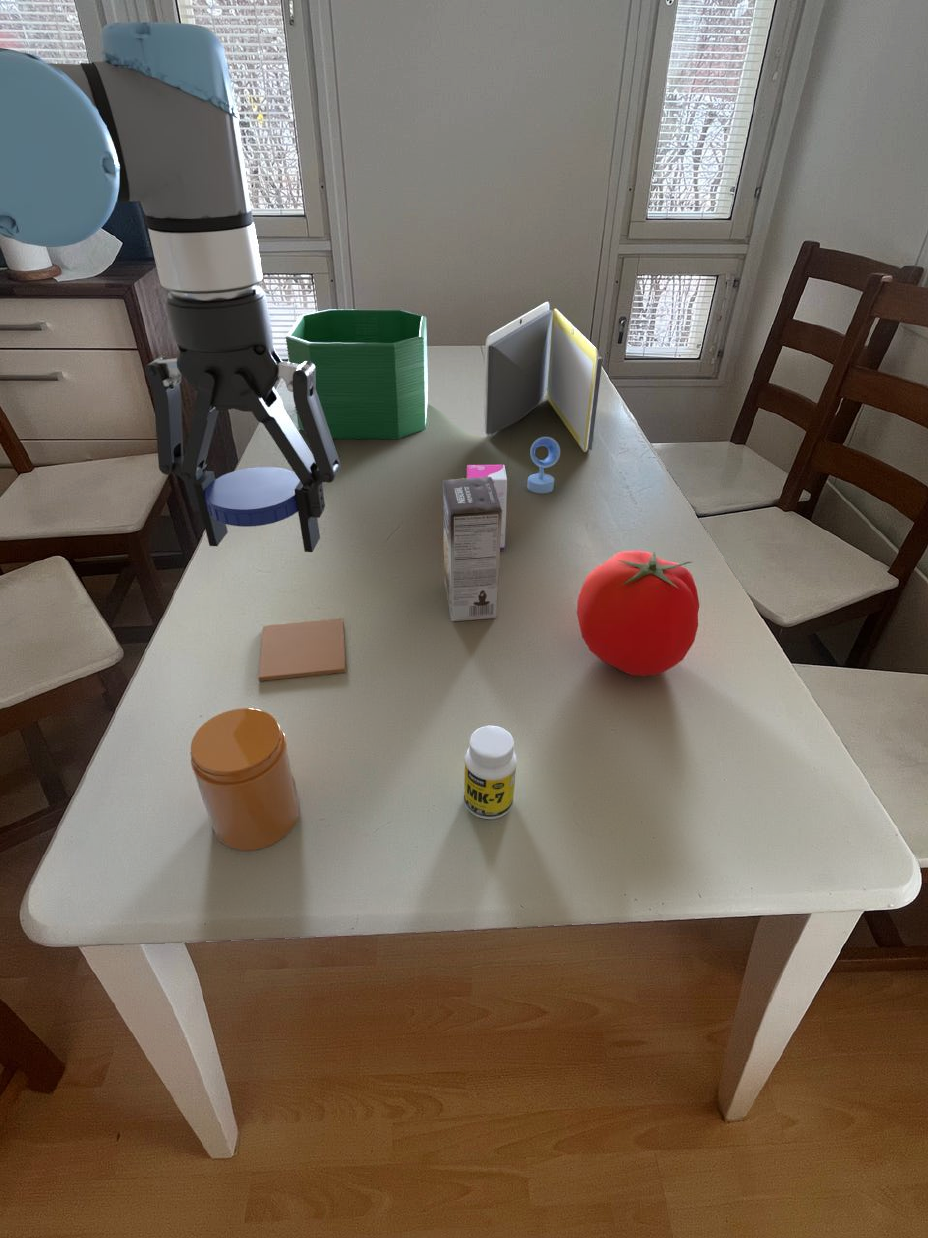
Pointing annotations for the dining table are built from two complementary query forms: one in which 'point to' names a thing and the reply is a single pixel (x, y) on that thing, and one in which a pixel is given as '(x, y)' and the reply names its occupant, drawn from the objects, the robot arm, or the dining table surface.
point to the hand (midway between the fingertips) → (265, 541)
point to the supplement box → (500, 485)
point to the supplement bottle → (490, 772)
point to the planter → (366, 370)
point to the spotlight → (543, 466)
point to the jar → (245, 778)
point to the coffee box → (471, 547)
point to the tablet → (541, 373)
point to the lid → (252, 496)
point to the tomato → (639, 612)
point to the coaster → (302, 649)
